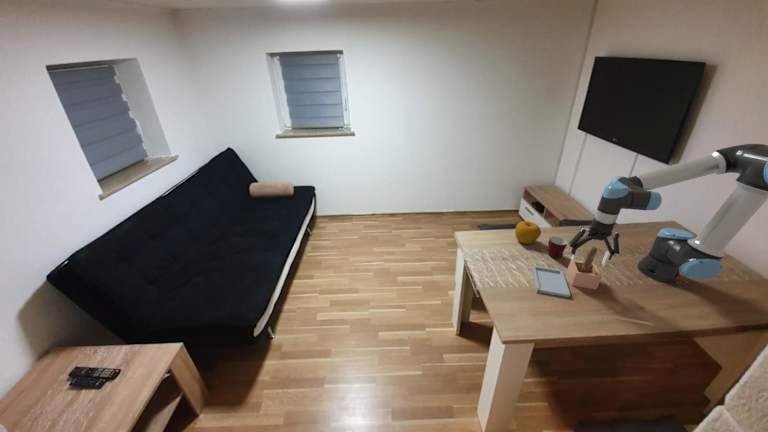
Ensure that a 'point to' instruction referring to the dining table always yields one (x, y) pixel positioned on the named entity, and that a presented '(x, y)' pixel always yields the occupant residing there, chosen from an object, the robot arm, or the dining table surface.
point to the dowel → (588, 259)
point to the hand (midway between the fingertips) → (587, 262)
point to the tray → (550, 281)
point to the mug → (556, 247)
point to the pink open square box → (583, 275)
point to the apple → (527, 232)
